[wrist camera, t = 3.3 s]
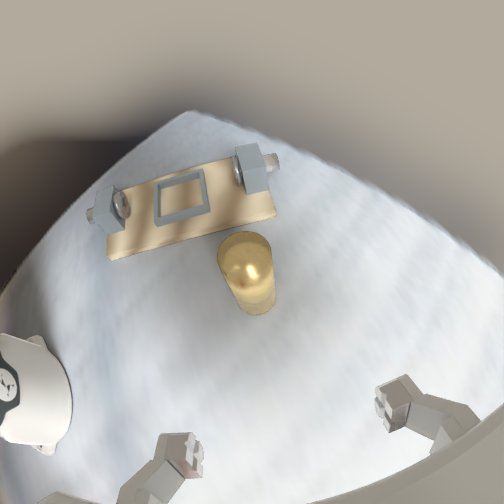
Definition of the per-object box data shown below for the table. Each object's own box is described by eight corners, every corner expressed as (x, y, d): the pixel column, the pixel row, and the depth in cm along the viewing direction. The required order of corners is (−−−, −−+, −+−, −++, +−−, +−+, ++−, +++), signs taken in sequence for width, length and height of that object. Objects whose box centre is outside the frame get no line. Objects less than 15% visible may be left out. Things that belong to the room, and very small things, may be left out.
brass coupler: (241, 319, 30) (222, 285, 21) (233, 283, 32) (213, 238, 23) (280, 309, 30) (277, 271, 21) (270, 274, 32) (263, 225, 23)
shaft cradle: (100, 263, 36) (77, 243, 30) (107, 202, 42) (90, 180, 36) (290, 213, 36) (290, 181, 31) (267, 156, 42) (264, 126, 37)
